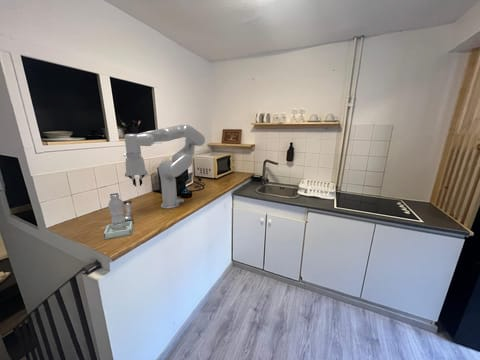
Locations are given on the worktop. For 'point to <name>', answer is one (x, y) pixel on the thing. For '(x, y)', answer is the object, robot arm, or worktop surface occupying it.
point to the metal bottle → (117, 212)
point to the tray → (111, 234)
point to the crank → (128, 209)
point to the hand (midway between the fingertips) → (138, 185)
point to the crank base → (127, 221)
